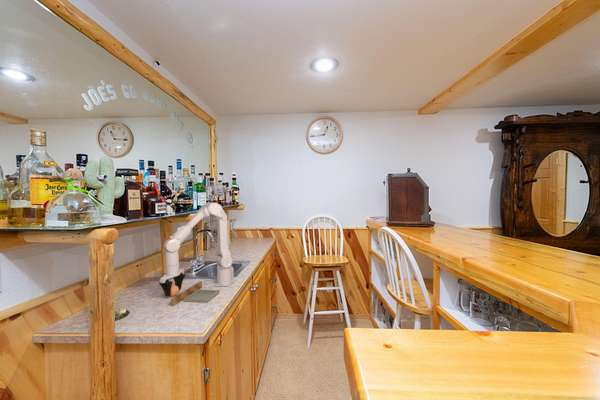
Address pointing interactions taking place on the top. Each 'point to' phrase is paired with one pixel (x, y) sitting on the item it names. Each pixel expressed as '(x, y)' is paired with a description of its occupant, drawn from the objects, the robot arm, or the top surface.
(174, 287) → the ball
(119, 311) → the log
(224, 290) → the top surface
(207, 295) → the tray
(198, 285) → the wooden plank
